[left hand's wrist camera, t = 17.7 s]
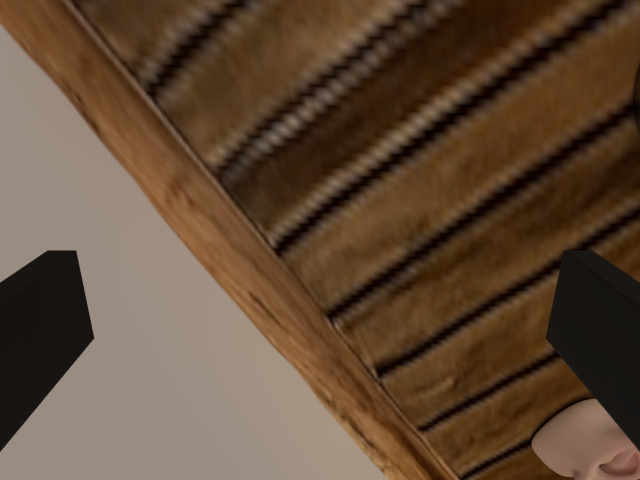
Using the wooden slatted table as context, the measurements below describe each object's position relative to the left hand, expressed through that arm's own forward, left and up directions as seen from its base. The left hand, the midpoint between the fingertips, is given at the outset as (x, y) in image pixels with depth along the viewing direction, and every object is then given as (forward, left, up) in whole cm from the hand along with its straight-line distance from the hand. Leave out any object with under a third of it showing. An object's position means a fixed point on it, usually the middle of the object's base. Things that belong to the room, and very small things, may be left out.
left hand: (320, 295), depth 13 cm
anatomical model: (-2, +44, -27) cm, 51 cm away
